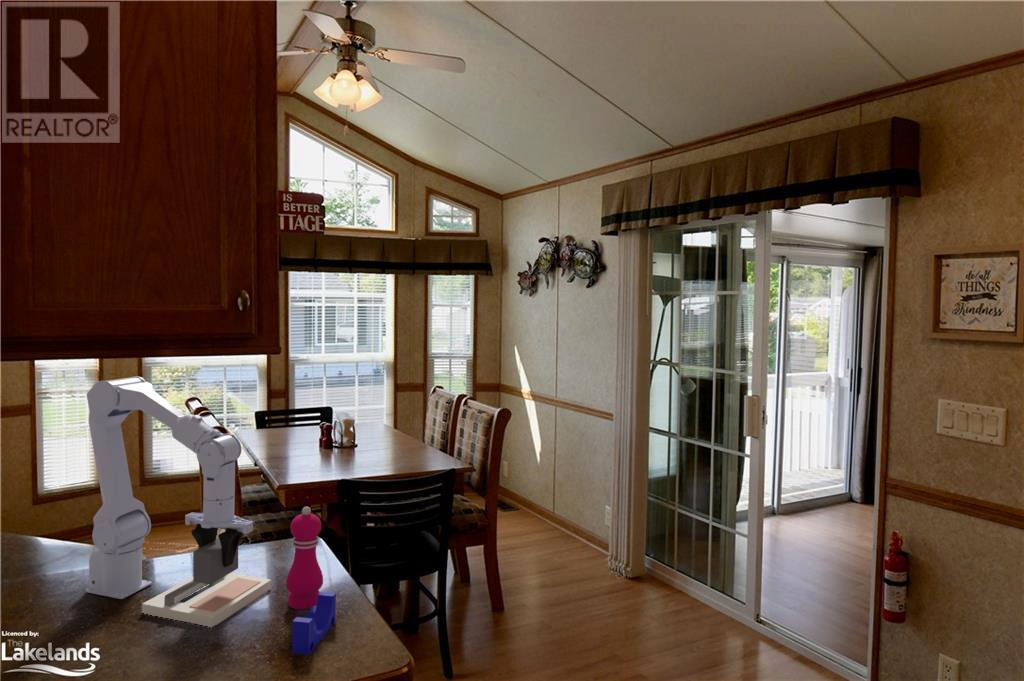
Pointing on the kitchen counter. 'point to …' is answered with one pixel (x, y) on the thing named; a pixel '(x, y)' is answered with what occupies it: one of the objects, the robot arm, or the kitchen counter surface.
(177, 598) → the cream flat slotted block
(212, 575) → the gray block
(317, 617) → the cable clip
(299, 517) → the pepper mill
